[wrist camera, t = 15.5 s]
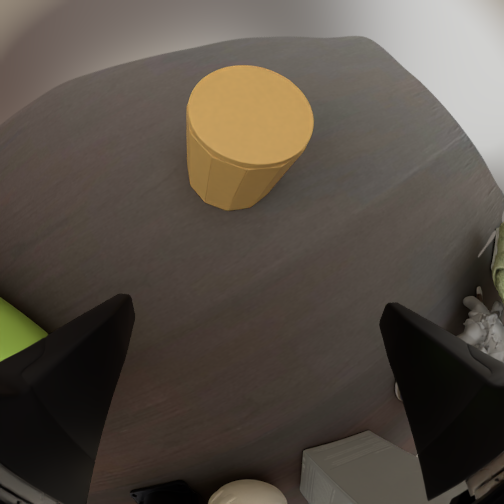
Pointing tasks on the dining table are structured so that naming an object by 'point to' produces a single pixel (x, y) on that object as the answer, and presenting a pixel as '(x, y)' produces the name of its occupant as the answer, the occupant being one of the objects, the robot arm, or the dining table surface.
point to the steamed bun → (248, 493)
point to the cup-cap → (244, 134)
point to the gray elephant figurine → (484, 328)
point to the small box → (495, 247)
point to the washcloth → (499, 264)
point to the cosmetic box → (365, 474)
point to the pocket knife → (479, 294)
